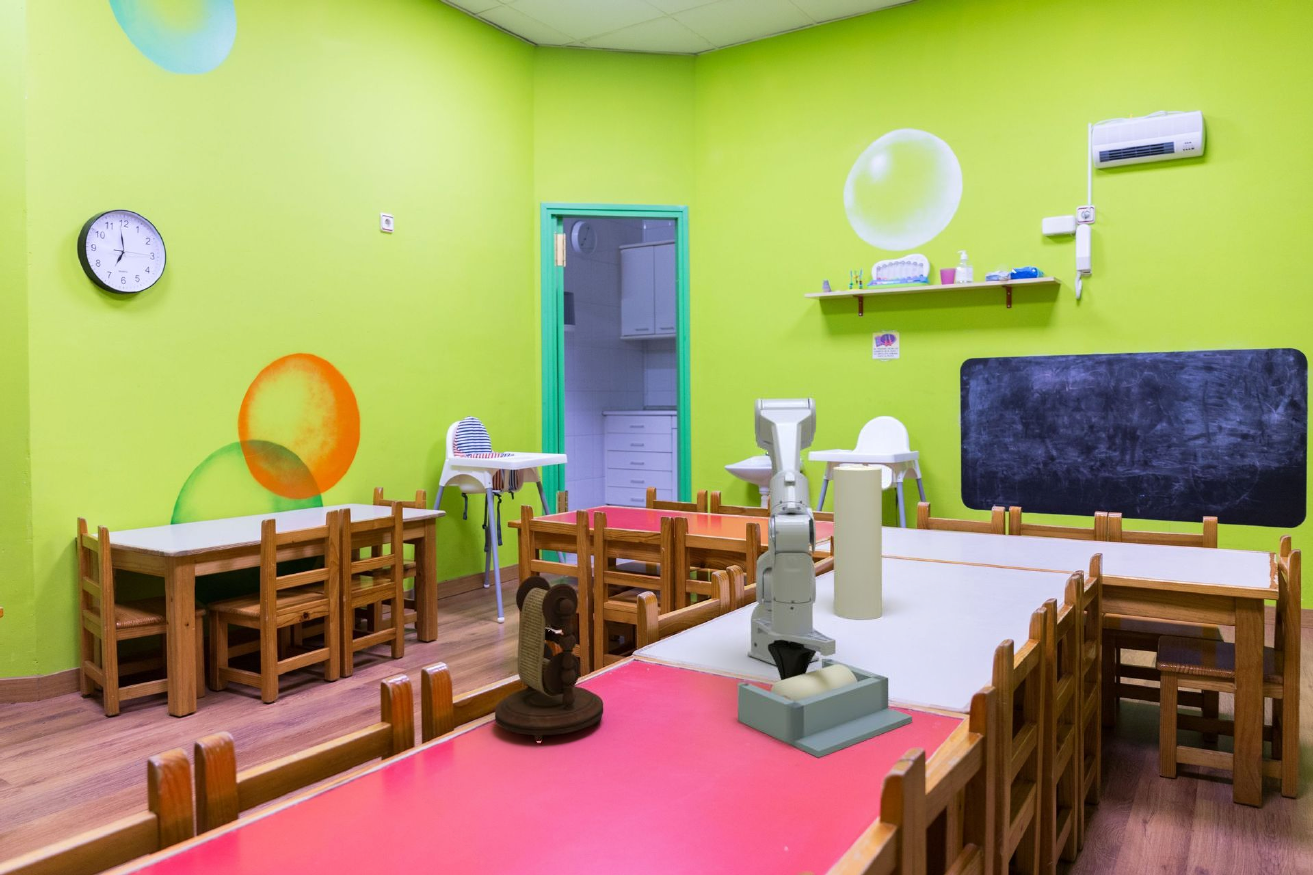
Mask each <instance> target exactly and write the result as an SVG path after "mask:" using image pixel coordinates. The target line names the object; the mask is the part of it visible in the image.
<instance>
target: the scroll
mask: <svg viewBox="0 0 1313 875" xmlns="http://www.w3.org/2000/svg"><path fill="white" fill-rule="evenodd" d="M515 602H516V606H517V608H518V610H519V612H520V613H521V614H520V619H519V620H520V621H519V628H518V629H519V630H518V640H517V641H518V643H517V645H518V646H517V647H518V648H517V674H518V677H519V680H520V681H521V682H522V683H523V684H525V685H526V687H525V688H523V689H520V690H518V691H515V692H512V693H511V694H509V695H508V696H507V697H505V698H503V699H502V700H500V701H499V702H498V703H497V704H496V705H495V707H494V720H495V722H496V723H497V725H498V726H499V727H501V728H502V729H504V730H506V731H510V732H512V733H516V734H521V735H529V736H530V735H531V736H534V741H535V740H536V741H541V740H542V741H543V738H544V736H547V735H548V736H550V735H560V734H565V733H571V732H576V731H579V730H582V729H585V728H588V727H589V726H591V725H593V724H595V725H596V726H599V725H600V724H601V722H602V718H603V714H604V702H603V699H602V698H601V697H600V696H599V695H598V694H596V693H594V692H592V691H590V690H588V689H586V688H584V687H580V686H576V684H577V682H578V681H579V676H580V673H581V664H580V661H579V659H578V656H576V655H575V654H574V653H573V652H574V649H575V647H576V644H577V641H576V636H574V634H573V630H574V627H573V623H572V621H571V620H572V619H573V618H574V617H575V615H576V612H577V610H578V606H579V598H578V594H577V591H576V590H575V588H574V587H573V586H571V585H570V584H567V583H556V584H555V585H553V586H551V584H550V583H549V581H548V580H547V579H546V578H544V577H543V576H540V575H532V576H529V577H527V578H525V579H524V580H523V581H522V582H521V583H520V585H519V586H518V588H517V591H516V595H515ZM548 630H550V631H549V632H548ZM555 631H561V633H557V632H555ZM547 642H550V643H551V642H552V643H555V644H556V645H559V647H560V649H561V652H558V653H557V654H554V652H553V649H552V647H550V645H549V644H548V643H547ZM536 741H535V742H536Z"/></svg>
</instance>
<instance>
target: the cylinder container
mask: <svg viewBox="0 0 1313 875" xmlns="http://www.w3.org/2000/svg"><path fill="white" fill-rule="evenodd" d="M832 469H833V470H832V471H833V473H832V474H833V475H832V476H833V477H832V480H833V486H832V487H833V488H832V489H833V613H834V615H835V616H837V617H840V618H843V619H847V620H861V621H864V620H875V619H878V618H881V617H882V615H883V579H882V578H883V550H882V549H883V545H882V544H883V543H882V542H883V536H882V533H883V525H882V524H883V523H882V522H883V521H882V519H883V518H882V515H883V514H882V512H883V511H882V509H883V508H882V507H883V505H882V503H883V502H882V499H883V498H882V497H883V496H882V495H883V494H882V493H883V492H882V489H883V488H882V486H883V485H882V484H883V483H882V480H883V479H882V477H883V476H882V467H880V466H879V467H878V466H873V465H872V466H871V465H870V466H869V465H861V464H853V465H846V466H845V465H843V466H834V467H833V468H832Z"/></svg>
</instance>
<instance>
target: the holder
mask: <svg viewBox="0 0 1313 875" xmlns="http://www.w3.org/2000/svg"><path fill="white" fill-rule="evenodd" d="M836 664H840V665H843V666H845V667H847V668H848V669H849V670H850V671H851V672H852V673H853V674H854V676H855V677H856V679H857V682H856V683H853V684H849V685H846V686H843V687H840V688H837V689H834V690H830V691H827V692H824V693H821V694H818V695H815V696H811V697H808V698H805V699H802V700H799V701H796V702H794V701H792V700H789V699H787V698H784V697H782V696H779V695H777V694H774V693H772V692H770V691H768V690H767V689H764V688H761V687H759V686H756V685H754V684H751V683H749V682H744V681H742V682H738V683H737V721H738V722H739V723H741V724H744V725H747V726H748V727H751V728H752V729H755V730H757V731H759V732H762V733H764V734H766V735H768V736H771V737H773V738H775V739H777V740H779V741H781V742H783V743H786V744H788V745H790V746H792V747H794V748H796V749H799V750H801V751H803V752H805V753H807V754H809V755H812V756H814V757H816V758H822V757H824V756H827V755H829V754H832V753H834V752H837V751H841V750H843V749H846V748H848V747H850V746H854V745H855V744H858V743H861V742H863V741H866V740H869V739H872V738H875V737H877V736H879V735H882V734H884V733H887V732H888V733H889V732H891V731H892V730H895V729H899V728H901V727H903V726H906V725H908V724H910V723H913V716H912V715H910V714H907V713H905V712H902V711H899V710H896V709H893V708H890V707H889V677H886V676H884V675H880V674H877V673H875V672H871V671H868V670H865V669H862V668H860V667H859V668H858V667H856V666H853V665H849V664H846V663H843V662H840V661H837V660H834V659H832V658H823V659H821V669H822V668H825V667H829V666H832V665H836Z"/></svg>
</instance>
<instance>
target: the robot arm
mask: <svg viewBox="0 0 1313 875" xmlns="http://www.w3.org/2000/svg"><path fill="white" fill-rule="evenodd" d="M816 429H817V404H816V401H815V400H814V399H813V397H808V398H762V399H761V398H759V397H757V398H756V400H755V401H754V434H755V443H757V444H756V445H757V447H758V448H760V449H762V450H765V451H767V453H768V457H769V460H770V462H771V463H770V464H771V478H770V481H769V512H770V515H769V517H768V520H767V544H768V545H767V547H768V548H767V549H768V550H766V551H765V552H764V553H762V554H761V555H760V556H759V557H758V559H757V560H756V570H755V587H756V588H755V589H756V590H755V592H756V594H755V596H756V597H755V599H756V602H757V605H756V606H755V607H754V609H753V610H752V613H751V616H750V650H749V651H747V652H746V653H747V656H749V657H752V658H754V659H758V660H761V661H763V662H766V663H768V664H769V663H770V664H772V665H774V666H776V668H777V671H778V674H779V677H780V681H781V680H784V679H788V678H791V677H795V676H798V675H802V674H805V673H807V671H808V668H809V666H810V664H811V662H814V661H818V660H819V659H820V657H819V655H816V653H820V655H821V656H824V657H828V656H832V655H835V654H836V647H837V646H836V645H837V644H836V639H835V638H831V637H829V636H827V635H825V634H823V633H822V632H820V631H818V630H817V629H815V628H814V626H813V622H814V621H813V619H814V618H813V609H814V607H813V605H814V603H815V602H816V598H817V597H816V596H817V584H816V583H817V582H816V580H817V579H816V571H815V561H814V560H813V556H814V555H815V551H816V547H817V546H816V545H817V530H816V520H815V517H814V513H813V507H812V508H811V502H810V501H811V500H810V488H809V479H808V478H807V477H806V476H805V474H803V473H801V472H800V470H801V469H800V468H801V451H803V450H805V449H807V448H810V447H812V443H813V442H814V439H815V434H816V432H817V430H816ZM810 546H811V553H812V554H811V553H810ZM812 555H813V556H812Z"/></svg>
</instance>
